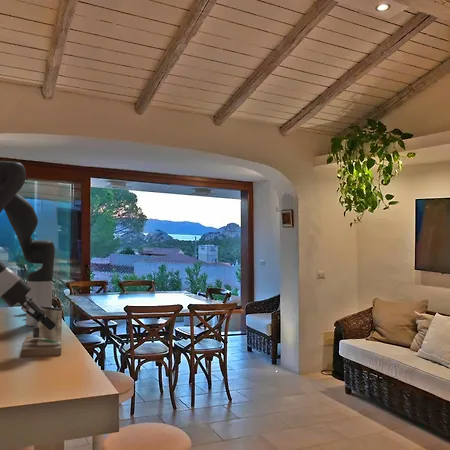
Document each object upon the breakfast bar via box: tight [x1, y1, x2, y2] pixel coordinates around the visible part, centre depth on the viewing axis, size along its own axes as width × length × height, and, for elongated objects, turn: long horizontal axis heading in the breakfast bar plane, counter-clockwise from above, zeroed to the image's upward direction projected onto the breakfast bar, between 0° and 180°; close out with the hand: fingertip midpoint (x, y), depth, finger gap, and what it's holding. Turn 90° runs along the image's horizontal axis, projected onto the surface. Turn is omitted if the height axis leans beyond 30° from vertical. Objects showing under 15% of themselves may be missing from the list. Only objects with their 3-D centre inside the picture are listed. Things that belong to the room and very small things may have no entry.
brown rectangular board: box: [21, 333, 62, 358], centre depth 142 cm, size 24×10×2 cm, turn 20°
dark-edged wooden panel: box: [32, 306, 63, 342], centre depth 142 cm, size 12×3×10 cm, turn 54°
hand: (53, 327), depth 138 cm, fingers closed
